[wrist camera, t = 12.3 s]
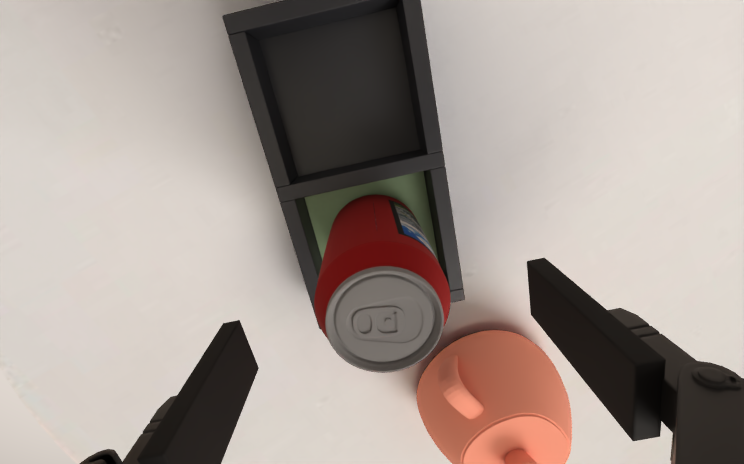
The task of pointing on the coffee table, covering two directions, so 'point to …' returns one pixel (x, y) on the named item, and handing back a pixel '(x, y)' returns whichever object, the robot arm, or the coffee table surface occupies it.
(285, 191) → the divided tray
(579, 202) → the coffee table surface
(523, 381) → the teapot
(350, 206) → the beverage can
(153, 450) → the robot arm
